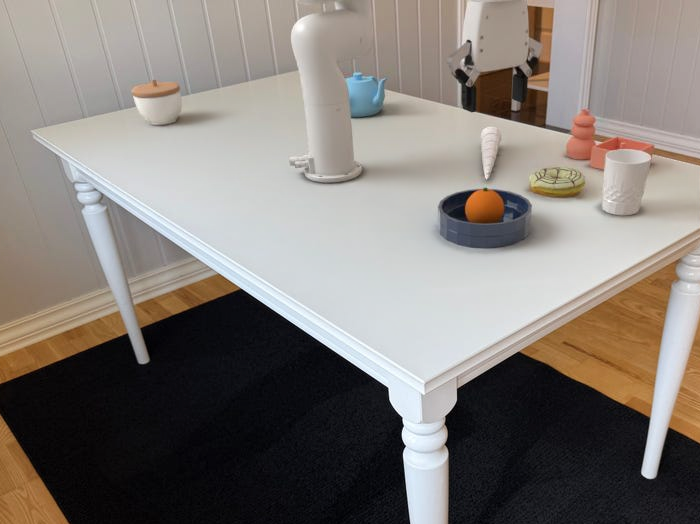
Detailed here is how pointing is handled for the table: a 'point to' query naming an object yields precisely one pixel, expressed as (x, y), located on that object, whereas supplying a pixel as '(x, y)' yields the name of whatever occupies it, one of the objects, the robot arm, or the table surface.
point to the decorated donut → (557, 182)
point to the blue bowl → (484, 235)
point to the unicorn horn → (489, 148)
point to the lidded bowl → (158, 101)
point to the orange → (484, 207)
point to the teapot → (365, 95)
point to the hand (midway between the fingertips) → (494, 105)
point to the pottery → (587, 148)
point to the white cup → (624, 180)
